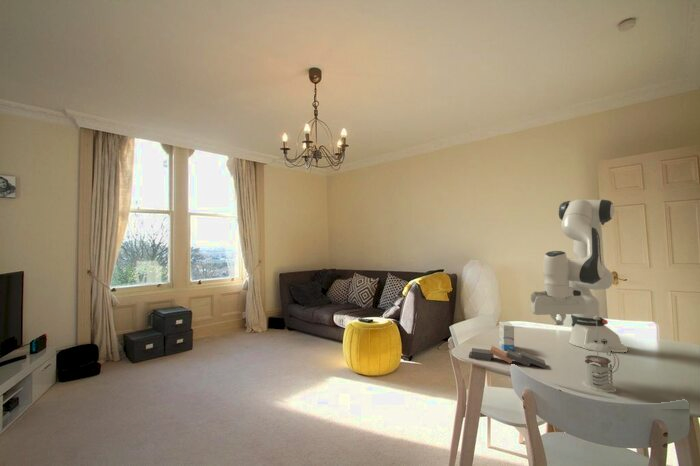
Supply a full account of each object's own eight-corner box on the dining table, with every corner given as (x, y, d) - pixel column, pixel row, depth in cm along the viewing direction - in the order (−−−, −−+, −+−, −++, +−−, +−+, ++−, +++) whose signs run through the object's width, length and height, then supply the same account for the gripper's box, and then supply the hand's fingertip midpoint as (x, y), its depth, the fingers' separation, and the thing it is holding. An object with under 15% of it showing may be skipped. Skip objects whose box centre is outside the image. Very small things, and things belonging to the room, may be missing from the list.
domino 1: (491, 354, 145) (470, 351, 149) (490, 357, 140) (468, 355, 144) (491, 358, 145) (470, 355, 149) (490, 362, 140) (468, 359, 144)
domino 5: (544, 360, 135) (521, 350, 139) (545, 364, 131) (522, 354, 134) (542, 364, 135) (519, 354, 139) (544, 368, 131) (520, 358, 134)
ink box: (515, 351, 152) (514, 325, 152) (503, 350, 153) (503, 325, 153) (509, 345, 160) (509, 321, 160) (499, 344, 161) (498, 320, 161)
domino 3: (512, 356, 140) (492, 345, 144) (512, 360, 136) (491, 348, 140) (511, 360, 140) (490, 348, 144) (510, 363, 136) (489, 352, 140)
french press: (575, 380, 120) (573, 312, 120) (607, 380, 119) (605, 312, 120) (594, 392, 110) (592, 319, 110) (629, 392, 110) (627, 319, 110)
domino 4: (529, 358, 137) (507, 349, 141) (530, 362, 133) (507, 352, 137) (528, 362, 138) (506, 352, 141) (529, 366, 133) (506, 356, 137)
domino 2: (493, 350, 144) (471, 347, 148) (493, 354, 140) (471, 351, 143) (493, 354, 144) (472, 351, 148) (493, 358, 140) (471, 355, 143)
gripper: (534, 293, 129) (536, 327, 129) (587, 291, 128) (589, 326, 127) (526, 290, 135) (528, 323, 135) (577, 289, 134) (579, 322, 134)
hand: (558, 325), depth 131 cm, fingers closed
